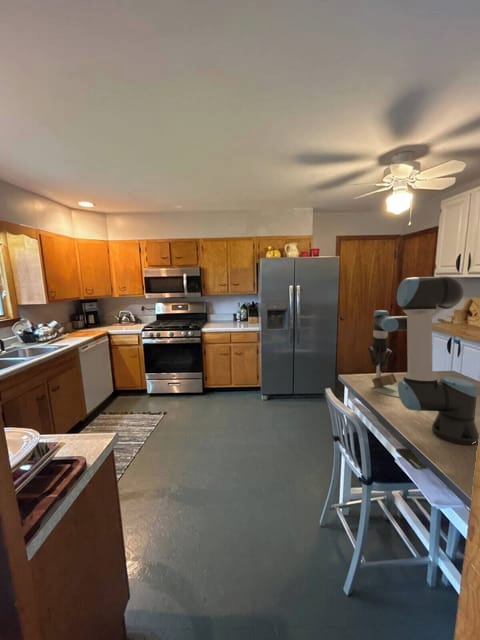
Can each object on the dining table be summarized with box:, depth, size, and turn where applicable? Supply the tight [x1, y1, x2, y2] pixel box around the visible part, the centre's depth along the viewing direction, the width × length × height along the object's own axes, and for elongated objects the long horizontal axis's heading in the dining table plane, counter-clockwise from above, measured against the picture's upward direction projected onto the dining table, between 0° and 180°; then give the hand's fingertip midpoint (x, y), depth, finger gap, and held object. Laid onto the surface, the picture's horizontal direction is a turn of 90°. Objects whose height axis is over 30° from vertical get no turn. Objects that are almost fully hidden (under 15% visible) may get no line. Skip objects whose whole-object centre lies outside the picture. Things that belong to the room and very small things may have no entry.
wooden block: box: [371, 373, 398, 389], centre depth 163 cm, size 5×5×11 cm
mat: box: [372, 384, 400, 399], centre depth 161 cm, size 14×14×1 cm
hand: (378, 376), depth 166 cm, fingers closed
